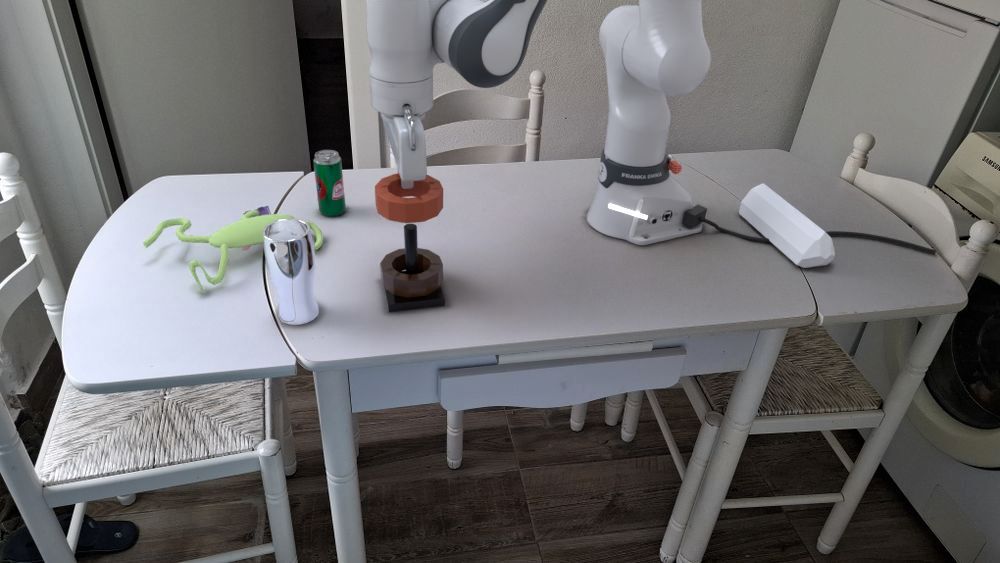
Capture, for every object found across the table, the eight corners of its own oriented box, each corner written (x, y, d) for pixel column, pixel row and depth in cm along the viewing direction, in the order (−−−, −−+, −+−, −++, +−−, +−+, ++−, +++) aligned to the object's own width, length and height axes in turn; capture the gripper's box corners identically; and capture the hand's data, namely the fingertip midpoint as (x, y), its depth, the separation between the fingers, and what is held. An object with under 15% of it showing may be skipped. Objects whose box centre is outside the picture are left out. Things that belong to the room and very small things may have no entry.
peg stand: (435, 275, 117) (434, 210, 110) (445, 305, 110) (444, 238, 102) (381, 280, 115) (377, 215, 108) (388, 312, 107) (384, 244, 100)
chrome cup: (280, 300, 109) (266, 217, 100) (324, 299, 109) (314, 217, 101) (271, 327, 103) (256, 242, 95) (318, 326, 104) (307, 242, 95)
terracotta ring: (435, 189, 108) (435, 170, 106) (448, 219, 100) (448, 200, 99) (372, 194, 106) (371, 175, 104) (381, 225, 98) (380, 206, 96)
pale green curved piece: (141, 254, 118) (132, 225, 115) (283, 208, 133) (279, 182, 130) (184, 303, 107) (176, 273, 104) (333, 247, 123) (330, 219, 119)
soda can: (340, 219, 131) (334, 161, 124) (315, 216, 132) (307, 158, 125) (350, 207, 135) (344, 150, 128) (325, 204, 136) (319, 147, 129)
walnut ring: (435, 260, 118) (434, 244, 116) (448, 292, 110) (448, 276, 108) (377, 267, 115) (376, 251, 113) (387, 301, 107) (386, 284, 106)
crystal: (854, 251, 122) (776, 190, 141) (831, 236, 118) (754, 176, 137) (825, 283, 124) (753, 219, 143) (801, 270, 121) (730, 206, 140)
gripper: (437, 119, 90) (438, 212, 98) (413, 70, 106) (415, 153, 114) (388, 121, 88) (393, 216, 96) (372, 72, 104) (377, 156, 112)
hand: (405, 181), depth 105 cm, fingers closed on terracotta ring, 2 cm apart
